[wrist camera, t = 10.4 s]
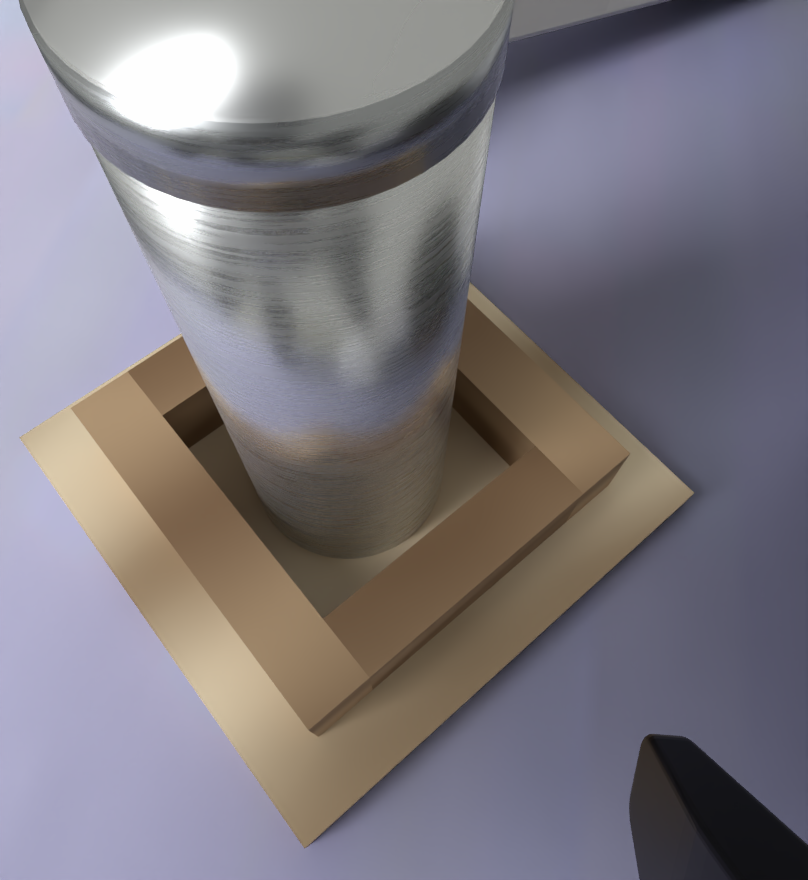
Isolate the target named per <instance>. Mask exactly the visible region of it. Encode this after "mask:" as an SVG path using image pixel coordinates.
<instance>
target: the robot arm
mask: <svg viewBox="0 0 808 880" xmlns="http://www.w3.org/2000/svg"><path fill="white" fill-rule="evenodd" d="M629 814H630V824H631V830H632V836H633V842H634V848H635V855H636V861H637V867H638V873H639V879H640V880H808V845H807V844H806V843H805V842H804V841H803V840H802V839H801V838H799V837H798V836H797V835H796V834H795V833H794V832H793V831H792V830H791V829H789V828H788V827H787V826H786V825H785V824H784V823H783V822H782V821H781V820H779V819H778V818H777V817H776V816H775V815H774V814H773V813H772V812H770V811H769V810H768V809H767V808H766V807H765V806H764V805H763V804H762V803H760V802H759V801H758V800H757V799H756V798H755V797H754V796H753V795H751V794H750V793H749V792H748V791H747V790H746V789H745V788H744V787H743V786H741V785H740V784H739V783H738V782H737V781H736V780H735V779H734V778H732V777H731V776H730V775H729V774H728V773H727V772H726V771H725V770H724V769H722V768H721V767H720V766H719V765H718V764H717V763H716V762H715V761H714V760H712V759H711V758H710V757H709V756H708V755H707V754H706V753H705V752H703V751H702V750H701V749H700V748H699V747H698V746H697V745H696V744H695V743H693V742H692V741H691V740H689V739H688V738H686V737H682V736H673V735H660V734H649V735H648V736H646V737H645V738H644V740H643V741H642V743H641V747H640V751H639V756H638V761H637V766H636V770H635V775H634V780H633V785H632V790H631V795H630V803H629Z"/></svg>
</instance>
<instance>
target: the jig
mask: <svg viewBox="0 0 808 880" xmlns="http://www.w3.org/2000/svg"><path fill="white" fill-rule="evenodd" d="M19 438H20V439H21V441H22V442H23V443H24V445H25V446H26V448H27V449H28V451H29V452H30V453H31V455H32V456H33V458H34V459H35V461H36V462H37V464H38V465H39V466H40V468H41V469H42V471H43V472H44V474H45V475H46V477H47V478H48V479H49V481H50V482H51V484H52V485H53V487H54V488H55V490H56V491H57V492H58V494H59V495H60V497H61V498H62V500H63V501H64V502H65V504H66V505H67V507H68V508H69V510H70V511H71V513H72V514H73V515H74V517H75V518H76V520H77V521H78V523H79V524H80V526H81V527H82V528H83V530H84V531H85V533H86V534H87V536H88V537H89V539H90V540H91V541H92V543H93V544H94V546H95V547H96V549H97V550H98V551H99V553H100V554H101V556H102V557H103V559H104V560H105V562H106V563H107V564H108V566H109V567H110V569H111V570H112V572H113V573H114V575H115V576H116V577H117V579H118V580H119V582H120V583H121V585H122V586H123V588H124V589H125V590H126V592H127V593H128V595H129V596H130V598H131V599H132V600H133V602H134V603H135V605H136V606H137V608H138V609H139V611H140V612H141V613H142V615H143V616H144V618H145V619H146V621H147V622H148V624H149V625H150V626H151V628H152V629H153V631H154V632H155V634H156V635H157V637H158V638H159V639H160V641H161V642H162V644H163V645H164V647H165V648H166V649H167V651H168V652H169V654H170V655H171V657H172V658H173V660H174V661H175V662H176V664H177V665H178V667H179V668H180V670H181V671H182V673H183V674H184V675H185V677H186V678H187V680H188V681H189V683H190V684H191V685H192V687H193V688H194V690H195V691H196V693H197V694H198V696H199V697H200V698H201V700H202V701H203V703H204V704H205V706H206V707H207V709H208V710H209V711H210V713H211V714H212V716H213V717H214V719H215V720H216V722H217V723H218V724H219V726H220V727H221V729H222V730H223V732H224V733H225V734H226V736H227V737H228V739H229V740H230V742H231V743H232V745H233V746H234V747H235V749H236V750H237V752H238V753H239V755H240V756H241V758H242V759H243V760H244V762H245V763H246V765H247V766H248V768H249V769H250V771H251V772H252V773H253V775H254V776H255V778H256V779H257V781H258V782H259V783H260V785H261V786H262V788H263V789H264V791H265V792H266V794H267V795H268V796H269V798H270V799H271V801H272V802H273V804H274V805H275V807H276V808H277V809H278V811H279V812H280V814H281V815H282V817H283V818H284V820H285V821H286V822H287V824H288V825H289V827H290V828H291V830H292V831H293V832H294V834H295V835H296V837H297V838H298V840H299V841H300V843H301V844H302V845H303V847H304V848H306V847H308V846H309V845H310V844H311V843H312V842H313V841H315V840H316V839H317V838H318V837H319V836H320V835H321V834H322V833H323V832H324V831H325V830H327V829H328V828H329V827H330V826H331V825H332V824H333V823H334V822H335V821H336V820H338V819H339V818H340V817H341V816H342V815H343V814H344V813H345V812H346V811H347V810H348V809H350V808H351V807H352V806H353V805H354V804H355V803H356V802H357V801H358V800H359V799H361V798H362V797H363V796H364V795H365V794H366V793H367V792H368V791H369V790H370V789H372V788H373V787H374V786H375V785H376V784H377V783H378V782H379V781H380V780H381V779H382V778H384V777H385V776H386V775H387V774H388V773H389V772H390V771H391V770H392V769H393V768H395V767H396V766H397V765H398V764H399V763H400V762H401V761H402V760H403V759H404V758H405V757H407V756H408V755H409V754H410V753H411V752H412V751H413V750H414V749H415V748H416V747H418V746H419V745H420V744H421V743H422V742H423V741H424V740H425V739H426V738H427V737H429V736H430V735H431V734H432V733H433V732H434V731H435V730H436V729H437V728H438V727H439V726H441V725H442V724H443V723H444V722H445V721H446V720H447V719H448V718H449V717H450V716H452V715H453V714H454V713H455V712H456V711H457V710H458V709H459V708H460V707H461V706H462V705H464V704H465V703H466V702H467V701H468V700H469V699H470V698H471V697H472V696H473V695H475V694H476V693H477V692H478V691H479V690H480V689H481V688H482V687H483V686H484V685H486V684H487V683H488V682H489V681H490V680H491V679H492V678H493V677H494V676H495V675H496V674H498V673H499V672H500V671H501V670H502V669H503V668H504V667H505V666H506V665H507V664H509V663H510V662H511V661H512V660H513V659H514V658H515V657H516V656H517V655H518V654H519V653H521V652H522V651H523V650H524V649H525V648H526V647H527V646H528V645H529V644H530V643H532V642H533V641H534V640H535V639H536V638H537V637H538V636H539V635H540V634H541V633H543V632H544V631H545V630H546V629H547V628H548V627H549V626H550V625H551V624H552V623H553V622H555V621H556V620H557V619H558V618H559V617H560V616H561V615H562V614H563V613H564V612H566V611H567V610H568V609H569V608H570V607H571V606H572V605H573V604H574V603H575V602H576V601H578V600H579V599H580V598H581V597H582V596H583V595H584V594H585V593H586V592H587V591H589V590H590V589H591V588H592V587H593V586H594V585H595V584H596V583H597V582H598V581H600V580H601V579H602V578H603V577H604V576H605V575H606V574H607V573H608V572H609V571H610V570H612V569H613V568H614V567H615V566H616V565H617V564H618V563H619V562H620V561H621V560H623V559H624V558H625V557H626V556H627V555H628V554H629V553H630V552H631V551H632V550H633V549H635V548H636V547H637V546H638V545H639V544H640V543H641V542H642V541H643V540H644V539H646V538H647V537H648V536H649V535H650V534H651V533H652V532H653V531H654V530H655V529H657V528H658V527H659V526H660V525H661V524H662V523H663V522H664V521H665V520H666V519H667V518H669V517H670V516H671V515H672V514H673V513H674V512H675V511H676V510H677V509H678V508H680V507H681V506H682V505H683V504H684V503H685V502H686V501H687V500H688V499H689V498H690V497H691V496H692V495H693V494H694V492H693V491H692V490H691V489H690V488H689V487H687V486H686V485H685V484H684V483H683V482H682V481H681V480H680V479H679V478H678V477H677V476H676V475H675V474H674V473H673V472H671V471H670V470H669V469H668V468H667V467H666V466H665V465H664V464H663V463H662V462H661V461H660V460H659V459H658V458H657V457H656V456H654V455H653V454H652V453H651V452H650V451H649V450H648V449H647V448H646V447H645V446H644V445H643V444H642V443H641V442H640V441H638V440H637V439H636V438H635V437H634V436H633V435H632V434H631V433H630V432H629V431H628V430H627V429H626V428H625V427H624V426H623V425H621V424H620V423H619V422H618V421H617V420H616V419H615V418H614V417H613V416H612V415H611V414H610V413H609V412H608V411H607V410H605V409H604V408H603V407H602V406H601V405H600V404H599V403H598V402H597V401H596V400H595V399H594V398H593V397H592V396H591V395H590V394H588V393H587V392H586V391H585V390H584V389H583V388H582V387H581V386H580V385H579V384H578V383H577V382H576V381H575V380H574V379H572V378H571V377H570V376H569V375H568V374H567V373H566V372H565V371H564V370H563V369H562V368H561V367H560V366H559V365H558V364H557V363H555V362H554V361H553V360H552V359H551V358H550V357H549V356H548V355H547V354H546V353H545V352H544V351H543V350H542V349H541V348H539V347H538V346H537V345H536V344H535V343H534V342H533V341H532V340H531V339H530V338H529V337H528V336H527V335H526V334H525V333H524V332H522V331H521V330H520V329H519V328H518V327H517V326H516V325H515V324H514V323H513V322H512V321H511V320H510V319H509V318H508V317H506V316H505V315H504V314H503V313H502V312H501V311H500V310H499V309H498V308H497V307H496V306H495V305H494V304H493V303H492V302H491V301H489V300H488V299H487V298H486V297H485V296H484V295H483V294H482V293H481V292H480V291H479V290H478V289H477V288H476V287H475V286H473V285H472V284H471V283H469V290H468V297H467V304H466V312H465V319H464V326H463V333H462V340H461V347H460V354H459V361H458V368H457V375H456V382H455V390H454V397H453V404H452V411H451V418H450V425H449V432H448V439H447V446H446V453H445V460H444V467H443V475H442V481H441V487H440V492H439V495H438V498H437V501H436V503H435V505H434V507H433V509H432V511H431V513H430V514H429V516H428V517H427V519H426V520H425V522H424V523H423V524H422V525H421V526H420V528H419V529H418V530H417V531H416V532H415V533H414V534H412V535H411V536H410V537H409V538H408V539H406V540H405V541H403V542H402V543H400V544H399V545H397V546H396V547H393V548H391V549H389V550H387V551H385V552H382V553H379V554H376V555H373V556H368V557H363V558H354V559H340V558H332V557H326V556H322V555H319V554H316V553H313V552H310V551H308V550H306V549H304V548H302V547H300V546H298V545H297V544H295V543H294V542H292V541H291V540H289V539H288V538H287V537H286V536H285V535H284V534H282V533H281V532H280V530H279V529H278V528H277V527H276V526H275V525H274V524H273V522H272V521H271V519H270V517H269V516H268V514H267V512H266V510H265V508H264V506H263V504H262V502H261V500H260V498H259V496H258V494H257V491H256V489H255V487H254V485H253V483H252V481H251V479H250V477H249V475H248V473H247V470H246V468H245V466H244V464H243V462H242V460H241V458H240V456H239V454H238V452H237V450H236V447H235V445H234V443H233V441H232V439H231V437H230V435H229V433H228V431H227V429H226V426H225V424H224V422H223V420H222V418H221V416H220V414H219V412H218V410H217V408H216V405H215V403H214V401H213V399H212V397H211V395H210V393H209V391H208V389H207V387H206V384H205V382H204V380H203V378H202V376H201V374H200V372H199V370H198V368H197V366H196V364H195V361H194V359H193V357H192V355H191V353H190V351H189V349H188V347H187V345H186V343H185V340H184V338H183V336H182V334H180V335H178V336H177V337H175V338H173V339H172V340H170V341H169V342H167V343H166V344H164V345H163V346H161V347H159V348H158V349H156V350H155V351H153V352H152V353H150V354H149V355H147V356H145V357H144V358H142V359H141V360H139V361H138V362H136V363H135V364H133V365H131V366H130V367H128V368H127V369H125V370H124V371H122V372H121V373H119V374H117V375H116V376H114V377H113V378H111V379H110V380H108V381H107V382H105V383H103V384H102V385H100V386H99V387H97V388H96V389H94V390H93V391H91V392H89V393H88V394H86V395H85V396H83V397H82V398H80V399H79V400H77V401H75V402H74V403H72V404H71V405H69V406H68V407H66V408H65V409H63V410H61V411H60V412H58V413H57V414H55V415H54V416H52V417H51V418H49V419H47V420H46V421H44V422H43V423H41V424H40V425H38V426H37V427H35V428H33V429H32V430H30V431H29V432H27V433H26V434H24V435H23V436H21V437H19Z"/></svg>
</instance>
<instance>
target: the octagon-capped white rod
mask: <svg viewBox="0 0 808 880" xmlns="http://www.w3.org/2000/svg"><path fill="white" fill-rule="evenodd" d="M667 1H671V0H515V1H514V8H513V15H512V21H511V28H510V35H509V42H508V43H510V42H514V41H517V40H521V39H525V38H529V37H533V36H537V35H540V34H544V33H548V32H552V31H556V30H559V29H563V28H567V27H571V26H575V25H579V24H582V23H586V22H590V21H594V20H598V19H602V18H605V17H609V16H613V15H617V14H621V13H625V12H628V11H632V10H636V9H640V8H644V7H648V6H651V5H655V4H659V3H663V2H667Z"/></svg>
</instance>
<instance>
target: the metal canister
mask: <svg viewBox="0 0 808 880" xmlns="http://www.w3.org/2000/svg"><path fill="white" fill-rule="evenodd" d="M514 1H515V0H19V3H20V8H21V11H22V13H23V15H24V17H25V20H26V22H27V24H28V27H29V29H30V31H31V33H32V35H33V37H34V39H35V41H36V43H37V45H38V47H39V49H40V52H41V54H42V56H43V58H44V60H45V62H46V64H47V66H48V68H49V70H50V72H51V74H52V76H53V78H54V80H55V82H56V85H57V87H58V89H59V91H60V93H61V95H62V97H63V99H64V101H65V103H66V105H67V107H68V109H69V111H70V113H71V115H72V117H73V120H74V122H75V123H76V124H77V126H78V127H79V129H80V130H81V132H82V133H83V135H84V136H85V138H86V139H87V141H88V142H89V143H90V144H91V145H92V147H93V150H94V152H95V154H96V156H97V158H98V160H99V162H100V164H101V166H102V168H103V171H104V173H105V175H106V177H107V179H108V181H109V183H110V185H111V187H112V189H113V192H114V194H115V196H116V198H117V200H118V202H119V204H120V206H121V208H122V210H123V213H124V215H125V217H126V219H127V221H128V223H129V225H130V227H131V229H132V231H133V233H134V236H135V238H136V240H137V242H138V244H139V246H140V248H141V250H142V252H143V254H144V257H145V259H146V261H147V263H148V265H149V267H150V269H151V271H152V273H153V275H154V278H155V280H156V282H157V284H158V286H159V288H160V290H161V292H162V294H163V296H164V299H165V301H166V303H167V305H168V307H169V309H170V311H171V313H172V315H173V317H174V319H175V322H176V324H177V326H178V328H179V330H180V332H181V334H182V336H183V338H184V340H185V343H186V345H187V347H188V349H189V351H190V353H191V355H192V357H193V359H194V361H195V364H196V366H197V368H198V370H199V372H200V374H201V376H202V378H203V380H204V382H205V384H206V387H207V389H208V391H209V393H210V395H211V397H212V399H213V401H214V403H215V405H216V408H217V410H218V412H219V414H220V416H221V418H222V420H223V422H224V424H225V426H226V429H227V431H228V433H229V435H230V437H231V439H232V441H233V443H234V445H235V447H236V450H237V452H238V454H239V456H240V458H241V460H242V462H243V464H244V466H245V468H246V470H247V473H248V475H249V477H250V479H251V481H252V483H253V485H254V487H255V489H256V491H257V494H258V496H259V498H260V500H261V502H262V504H263V506H264V508H265V510H266V512H267V514H268V516H269V517H270V519H271V521H272V522H273V524H274V525H275V526H276V527H277V528H278V529H279V530H280V532H281V533H282V534H284V535H285V536H286V537H287V538H288V539H289V540H291V541H292V542H294V543H295V544H297V545H298V546H300V547H302V548H304V549H306V550H308V551H310V552H313V553H316V554H319V555H322V556H326V557H332V558H340V559H354V558H363V557H368V556H373V555H376V554H379V553H382V552H385V551H387V550H389V549H391V548H393V547H396V546H397V545H399V544H400V543H402V542H403V541H405V540H406V539H408V538H409V537H410V536H411V535H412V534H414V533H415V532H416V531H417V530H418V529H419V528H420V526H421V525H422V524H423V523H424V522H425V520H426V519H427V517H428V516H429V514H430V513H431V511H432V509H433V507H434V505H435V503H436V501H437V498H438V495H439V492H440V487H441V481H442V475H443V467H444V460H445V453H446V446H447V439H448V432H449V425H450V418H451V411H452V404H453V397H454V390H455V382H456V375H457V368H458V361H459V354H460V347H461V340H462V333H463V326H464V319H465V312H466V304H467V297H468V290H469V283H470V276H471V269H472V262H473V255H474V248H475V241H476V234H477V226H478V219H479V212H480V205H481V198H482V191H483V184H484V177H485V170H486V163H487V156H488V148H489V141H490V134H491V127H492V120H493V113H494V106H495V99H496V94H497V92H498V89H499V87H500V84H501V82H502V77H503V72H504V67H505V62H506V55H507V48H508V42H509V35H510V28H511V21H512V15H513V8H514Z"/></svg>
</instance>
